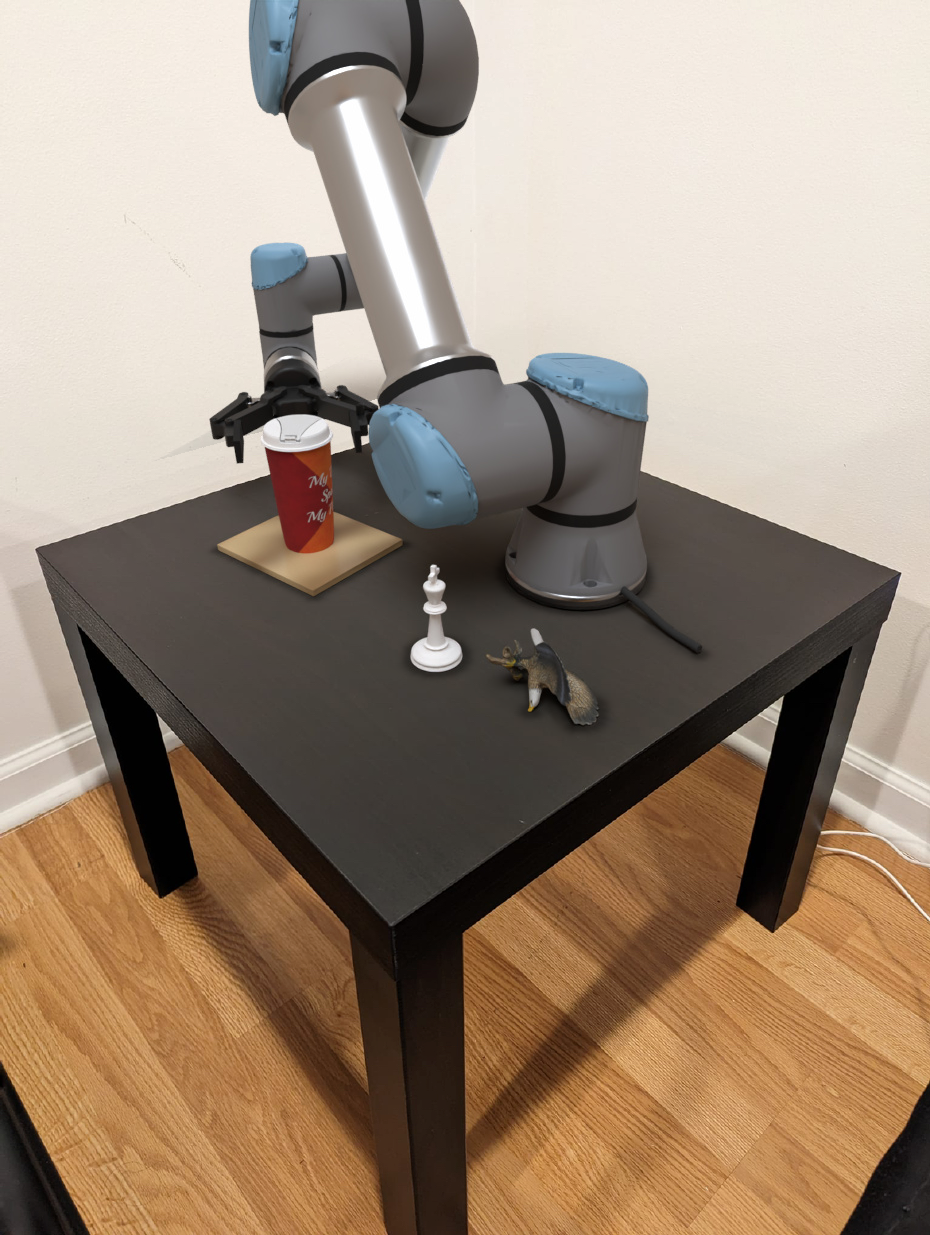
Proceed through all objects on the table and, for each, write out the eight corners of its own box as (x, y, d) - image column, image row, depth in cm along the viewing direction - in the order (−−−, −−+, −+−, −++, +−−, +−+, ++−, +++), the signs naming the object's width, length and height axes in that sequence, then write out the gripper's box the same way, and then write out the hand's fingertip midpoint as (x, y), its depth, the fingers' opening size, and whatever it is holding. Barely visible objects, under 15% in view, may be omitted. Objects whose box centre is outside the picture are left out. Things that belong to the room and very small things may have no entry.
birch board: (402, 545, 101) (402, 539, 100) (313, 596, 92) (312, 590, 91) (308, 506, 109) (307, 500, 108) (217, 550, 100) (216, 544, 99)
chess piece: (469, 646, 84) (468, 557, 78) (452, 676, 80) (450, 584, 74) (421, 637, 85) (417, 548, 80) (402, 666, 81) (397, 575, 76)
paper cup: (338, 558, 96) (325, 439, 89) (269, 558, 97) (251, 439, 89) (347, 525, 103) (337, 411, 95) (283, 524, 103) (267, 411, 95)
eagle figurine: (474, 700, 75) (561, 727, 70) (492, 620, 75) (580, 641, 70) (523, 703, 81) (606, 728, 76) (539, 628, 81) (624, 648, 76)
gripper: (386, 405, 121) (408, 467, 104) (202, 419, 117) (192, 487, 100) (383, 351, 117) (405, 407, 99) (191, 364, 113) (180, 424, 95)
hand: (298, 447), depth 99 cm, fingers open, 13 cm apart
